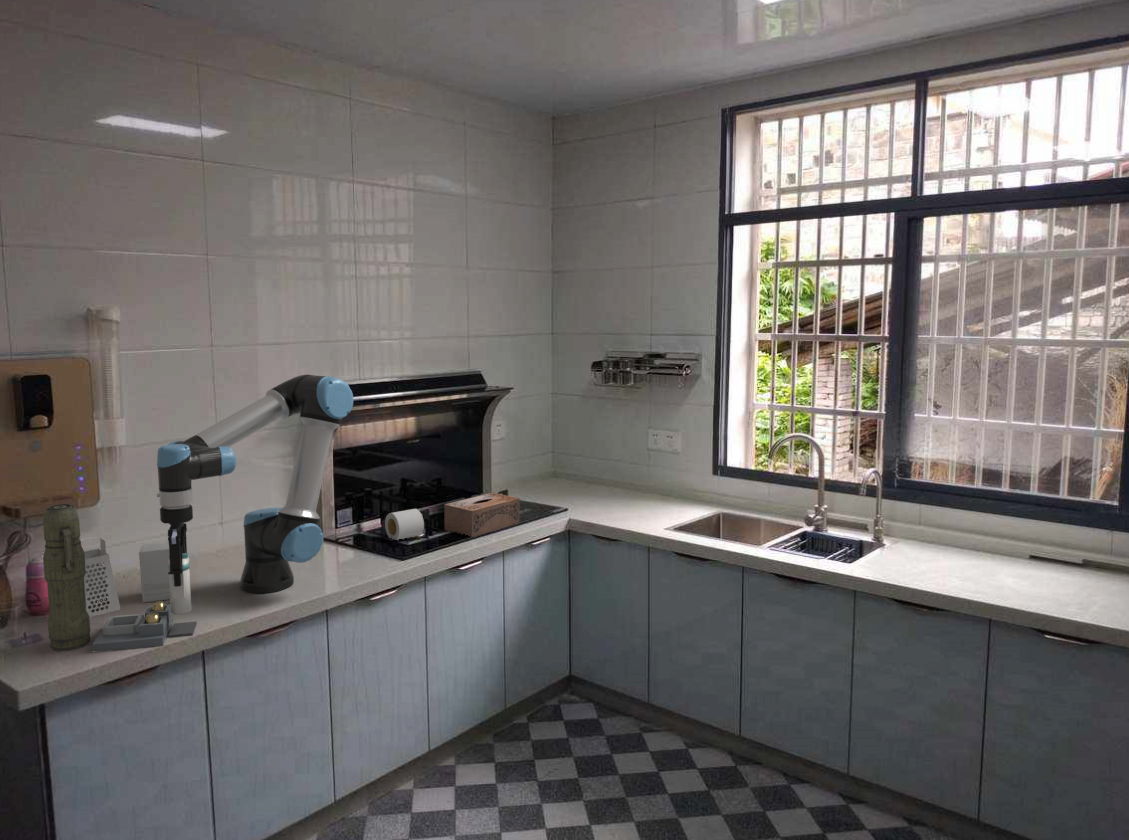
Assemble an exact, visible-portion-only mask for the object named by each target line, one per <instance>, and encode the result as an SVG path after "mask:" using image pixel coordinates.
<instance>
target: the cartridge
mask: <svg viewBox="0 0 1129 840" xmlns="http://www.w3.org/2000/svg"><path fill="white" fill-rule="evenodd" d="M189 561H190V557H189V553H188V552H187V553H183V554H182V564H183V572H184V589H185V598H174V599H173V591H172V574H169V582H170V599H169V601H170V604H171V613H172V615H181V614H182V615H183V614H186V613H189V612H191V611H192V595H191V594H192V593H191V574H190V569H191V568H190V566H191V565H190V564H189ZM168 567H169V572H170V556H169V559H168Z"/></svg>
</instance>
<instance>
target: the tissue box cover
mask: <svg viewBox="0 0 1129 840" xmlns="http://www.w3.org/2000/svg"><path fill="white" fill-rule="evenodd" d="M443 512H444V531H448V532H451V531H452V533H455V532H457V533H456V534H459V533H460V534H459V535H463V534H465V535H464V536H466V535H468V536H467V537H471V538H473V537H474V538H475V537H477V536H480V535H483V534H487V533H490V532H493V531H496V530H500V529H504V528H507V527H510V526H514V525H517V524H520V498H519V497H515V496H511V495H505V494H500V493H495V492H488V493H486V494H480V495H477V496H472V497H468V498H464V499H461V500H457V501H453V502H450V503H449V502H448V503H445V504H444V511H443Z"/></svg>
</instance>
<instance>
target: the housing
mask: <svg viewBox="0 0 1129 840" xmlns="http://www.w3.org/2000/svg"><path fill="white" fill-rule="evenodd" d="M150 613H158V614H159V623H149V624H147V622H146V615H147V614H150ZM173 615H174V614H173V613H171V603H168V604H167V603H166V604H165V603H164V611H152V605H148V606H147V608H146V610H145V612H144V613H143V614H140V613H135V614H126V615H124V614H123V615H115V616H110V617H108V618H107V619H106V621H105V622H104V624H103V626H102V628H101V630H100V631H99V632H98V634H97V636H96V637H95V639H94V640H93V642H92V645H91V646H92V652H93V651H100V652H109V651H108V650H111V651H119V650H118V649H121V650H128V649H127V648H131V649H140V648H151V647H152V648H153V647H160V646H161V647H162V646H164V644H165V642H166V640H165V639H167V637H168V636H169V633H170V631H171V628H172V626H173V623H174V617H173ZM172 622H173V623H172ZM139 647H140V648H139Z"/></svg>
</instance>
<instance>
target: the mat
mask: <svg viewBox="0 0 1129 840" xmlns="http://www.w3.org/2000/svg"><path fill="white" fill-rule="evenodd" d="M197 623H198V622H197V621H186V622H175V623H174V622H173V623H172V625H171V627H170V630H169V632H168V638H179V637H187V636H193V635H194V633H195V629H196V626H197Z"/></svg>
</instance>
